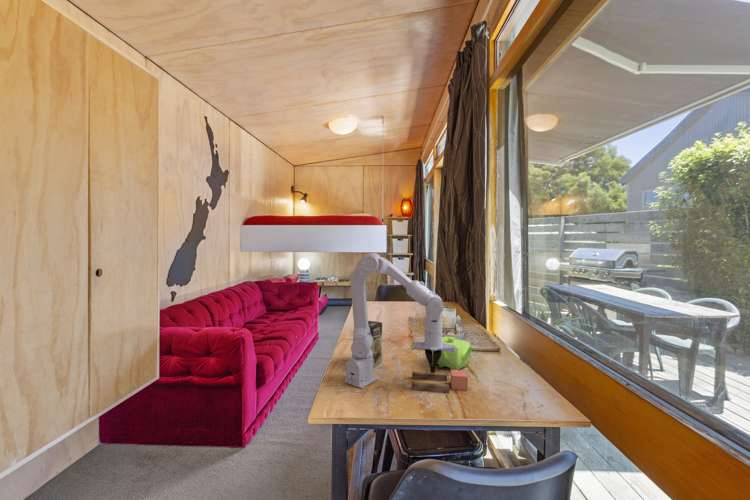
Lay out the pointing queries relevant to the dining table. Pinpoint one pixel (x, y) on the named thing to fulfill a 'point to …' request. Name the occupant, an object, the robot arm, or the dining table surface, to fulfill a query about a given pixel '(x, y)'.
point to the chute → (429, 386)
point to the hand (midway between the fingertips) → (432, 371)
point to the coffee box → (376, 341)
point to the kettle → (455, 354)
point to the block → (459, 380)
